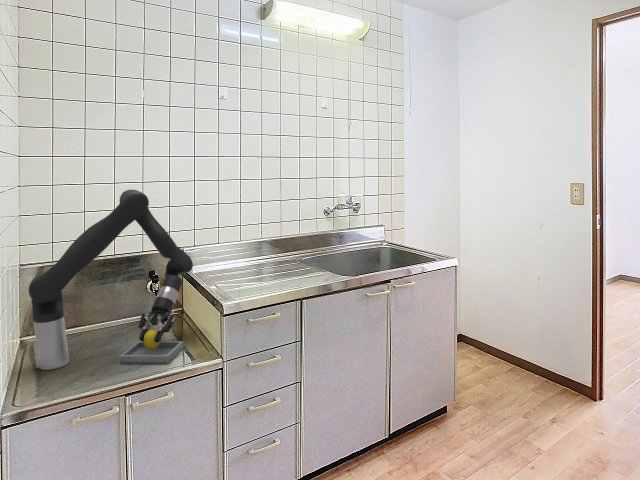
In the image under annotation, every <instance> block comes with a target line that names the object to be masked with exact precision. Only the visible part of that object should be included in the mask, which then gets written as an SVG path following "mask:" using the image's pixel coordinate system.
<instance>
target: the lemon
mask: <svg viewBox="0 0 640 480" xmlns="http://www.w3.org/2000/svg"><path fill="white" fill-rule="evenodd" d="M156 333H157V330H154V329H150V330H149V331H148V332H147V333H146V334H145V336H144V345H145V346H146V347H147V348H148V349H151V350H154V349H155V348H156V347H157V346H158V345H159V343H160V341H161V340H160V341H159V342H158V343H156V342H155V341H154V338H155V336H156Z"/></svg>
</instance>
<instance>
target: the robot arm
mask: <svg viewBox="0 0 640 480" xmlns="http://www.w3.org/2000/svg"><path fill="white" fill-rule="evenodd" d="M118 201H119V203H118V205H117V206H116V207H115V208H114V209H113V210H112V211H111V212H110V213H108V215H107V216H105V217H104V218H102V219H99V220H98V221H97V222H95V223H93V224H92V225H91V226H90V227H88V228H87V229H86V230H84V232H82V233H81V234H80V235H79V236H78V237H77V238H76V239H75V240H74V241H73V242H72V243H71V245H70V246H69V247H68V248H67V249H66V250H65V252H64V253H63V255H62V256H61V257H60V258H59V260H57V262H55V264H53V266H51V267H50V268H49V269H47V270H46V271H45V272H44V273H39V274H38V275H36V276H34V277H33V278H32V280H31V281H30V283H29V286H28V295H29V297H30V299H31V304H32V308H31V310H32V321H33V329H34V330H33V331H34V336H35V338H34V339H35V341H33V343H32V344H33V351H34V358H35V368H37V369H40V370H43V371H49V370H51V371H52V370H56V369H59V368H62V367H65V366H66V365H68V363H70V357H69V348H68V340H67V339H68V338H67V331H66V322H65V321H66V320H65V313H64V301H63V289H65V287H66V286H67V285H68V284H69V283H70V282H71V280H73V278H74V277H75V276H76V275H78V274H79V273H80V272H81V271H82V270H84V269H85V268H86V267H87V266H89V265H90V264H91V263H92V262H93V261H95V259H97V258H98V257H99V256H100V255H101V254H102V253H103V252H104V251H105V250H106V249H107V248H108V247H109V246H110V244H111V243H113V241H115V239H116V238H117V237H119V235H120V234H121V233H122V232H123V230H125V229H126V227H128V226H129V225H130V224H132V223H133V222H134V221H135V222H136V223H137V225H139V227H141V229H142V231H143V232H144V233H145V234H146V236H147V237H148V239H149V240H150V241H151V244H152V245H153V246H154V247H155V249H156V250H157V251H158V253H159V254H160V255H161V256H162V257H163V258H166V259H169V260H168V261H167V264H166V267H165V273H164V279H163V281H162V285H161V286H160V288H159V290H158V291H157V294H156V297H155V298H154V301H153V304H152V306H151V311H150V312H149V313H148V314H146V313H142V314H141V316H140V319H139V324H138V328H139V329H140V330H141V331H140V334H139V337H138V339H139V341H143V342H144V336H145V334H146V333H147V332H148V331H150V330H151V329H152V328H154V326H158V327H157V328H158V329H157V330H156V332H157V333H156V336H155V338H154V341H155V342H156V343H158V342H159V341H161V340H162V338H163V335H164V334H165V333H169V332H170V330H171V328H172V327H173V325H174V324H175V322H176V321H177V319H176V317H175V316H174V315H172V313H173V311H174V310H173V309H174V307H175V306H176V305H175V304H176V302H177V299H178V297H179V292H180V290H181V288H182V284H183V280H182V278H181V277H179V276H180V275H181V274H186V273H190V272H191V271H192V269H193V267H194V263H193V260H192V257H190V256H189V255H188V253H186V252H185V251H184V250H183V249H181V247H180V246H178V245H177V244H176V242H175V240H173V238H172V237H171V236H170V234H169V233H168V232H167V230H166V229H165V227H163V226H162V225H161V223H160V222H158V220H157V219H156V218H155V217H154V215H153V213H152V212H151V210H150V208H149V206H150V201H149V198H148V196H147V194H145V193H144V192H142V191H139V190H137V189H126V190H124V191H123V192H122V193H121V195H120V196H119V200H118Z"/></svg>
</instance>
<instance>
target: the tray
mask: <svg viewBox="0 0 640 480" xmlns="http://www.w3.org/2000/svg"><path fill="white" fill-rule="evenodd" d="M184 344H185V343H184V341H177V340H176V341H175V340H174V341H173V340H172V341H168V340H167V341H164V340H162V341H161V340H160V343H159V345H158V346H157V347H156V348H155V349H154V350H151V349H148V348H147V347H146V346H145V345H144V342H143V341H140V340H138V341H137V342H135V344H133V345H132V346H131V347H129V348H128V349H127V350H125V351H124V352H122V354H121V353H120V355H119V356H118V358H119V365H166V366H167V365H170V364H171V363H172V362H173V361H174V359H176V357H177V356H178V355H180V354H181V353H182V351H183V350H184V349H185V348H184Z"/></svg>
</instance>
